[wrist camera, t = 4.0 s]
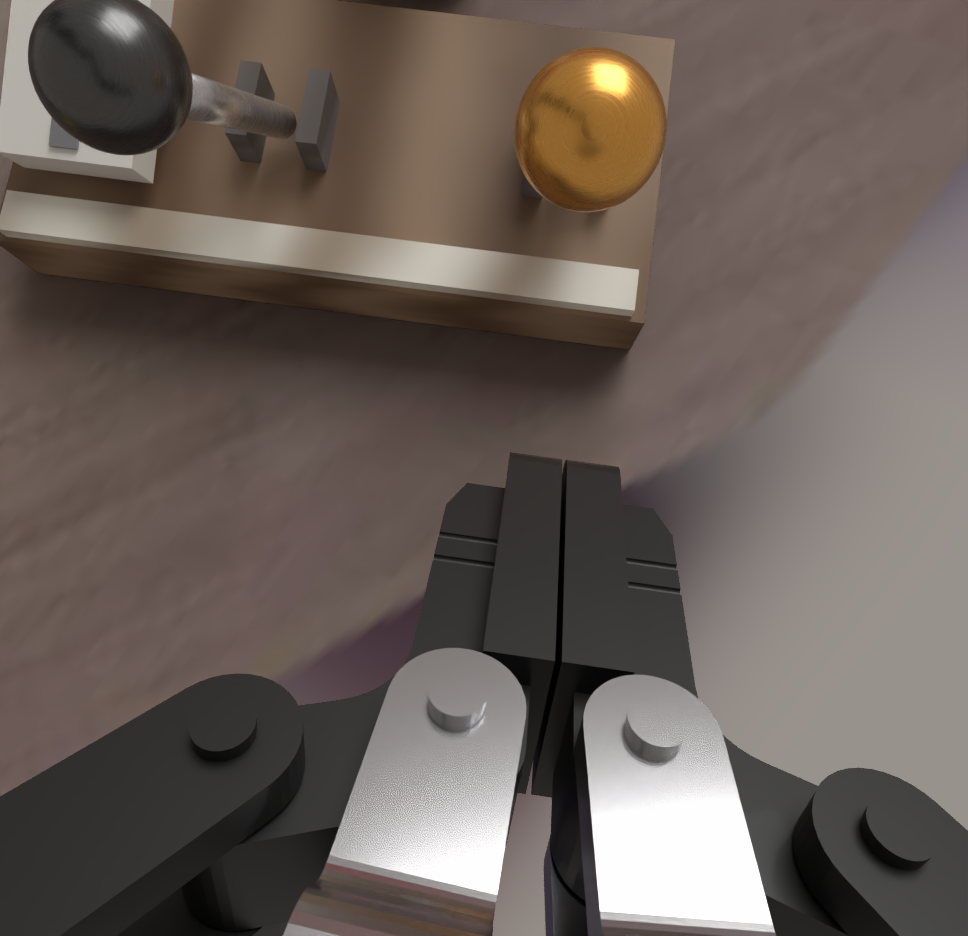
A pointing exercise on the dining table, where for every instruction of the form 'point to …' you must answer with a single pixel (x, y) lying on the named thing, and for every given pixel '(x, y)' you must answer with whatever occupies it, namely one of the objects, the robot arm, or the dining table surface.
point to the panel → (360, 180)
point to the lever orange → (590, 129)
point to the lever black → (132, 80)
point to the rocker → (33, 132)
